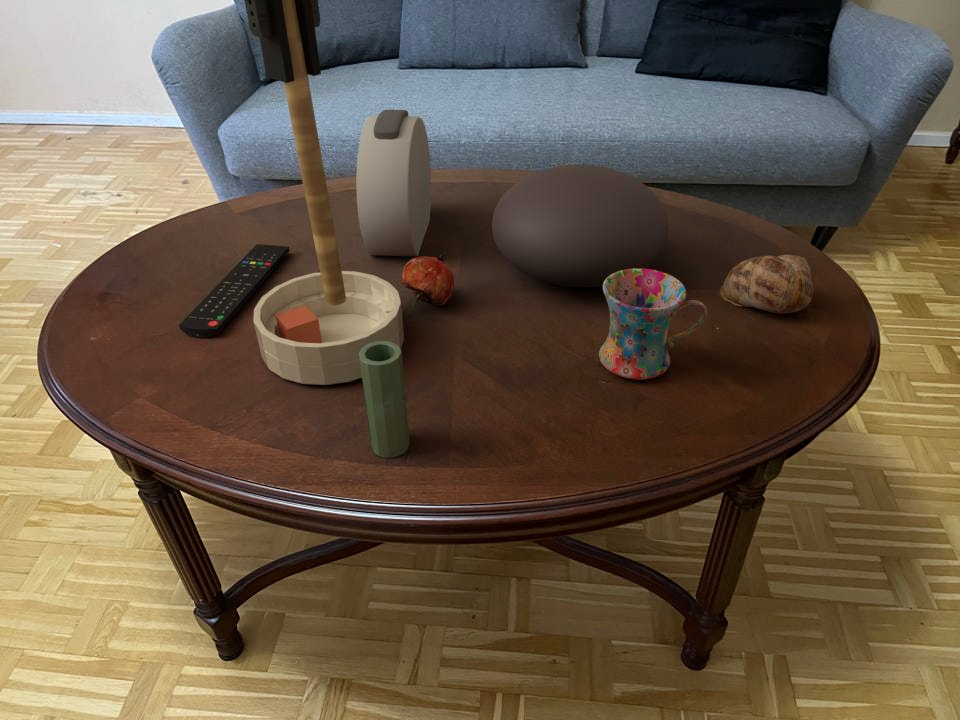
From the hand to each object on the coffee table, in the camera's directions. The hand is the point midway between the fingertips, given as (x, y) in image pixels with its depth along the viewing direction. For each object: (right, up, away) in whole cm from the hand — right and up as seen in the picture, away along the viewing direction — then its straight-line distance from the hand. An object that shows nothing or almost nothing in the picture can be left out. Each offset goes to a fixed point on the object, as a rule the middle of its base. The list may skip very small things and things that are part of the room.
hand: (293, 75), depth 58 cm
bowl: (-3, -21, +33) cm, 39 cm away
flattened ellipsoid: (+29, -10, +48) cm, 57 cm away
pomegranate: (+8, -16, +41) cm, 44 cm away
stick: (+1, -17, +12) cm, 21 cm away
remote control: (-19, -14, +44) cm, 50 cm away
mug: (+35, -24, +29) cm, 51 cm away
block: (-7, -21, +32) cm, 39 cm away
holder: (+6, -32, +18) cm, 37 cm away
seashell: (+54, -16, +40) cm, 69 cm away
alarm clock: (+2, -3, +58) cm, 58 cm away
